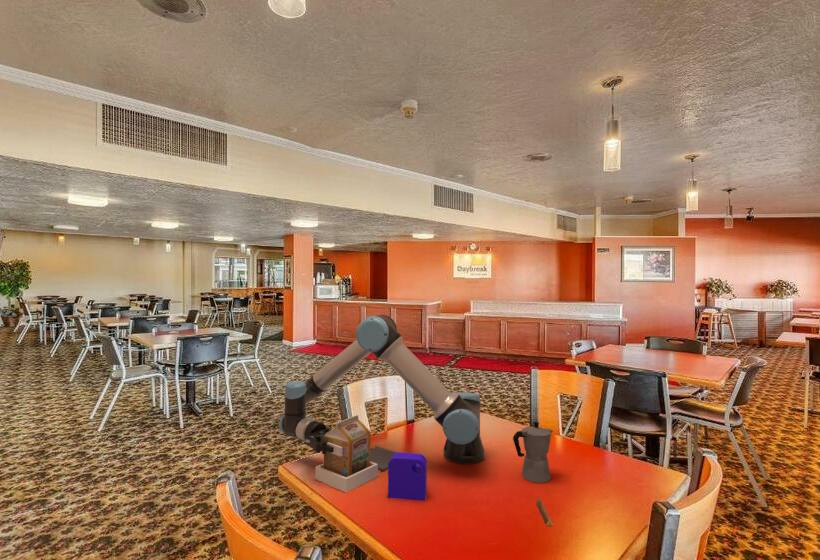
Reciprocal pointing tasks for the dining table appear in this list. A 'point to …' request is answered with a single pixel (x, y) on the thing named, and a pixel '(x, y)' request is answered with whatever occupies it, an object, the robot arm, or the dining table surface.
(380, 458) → the rubber mat
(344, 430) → the milk carton
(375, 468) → the carton holder
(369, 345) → the robot arm
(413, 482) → the bracket
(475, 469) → the dining table surface
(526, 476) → the coffeepot
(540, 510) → the wooden stick
